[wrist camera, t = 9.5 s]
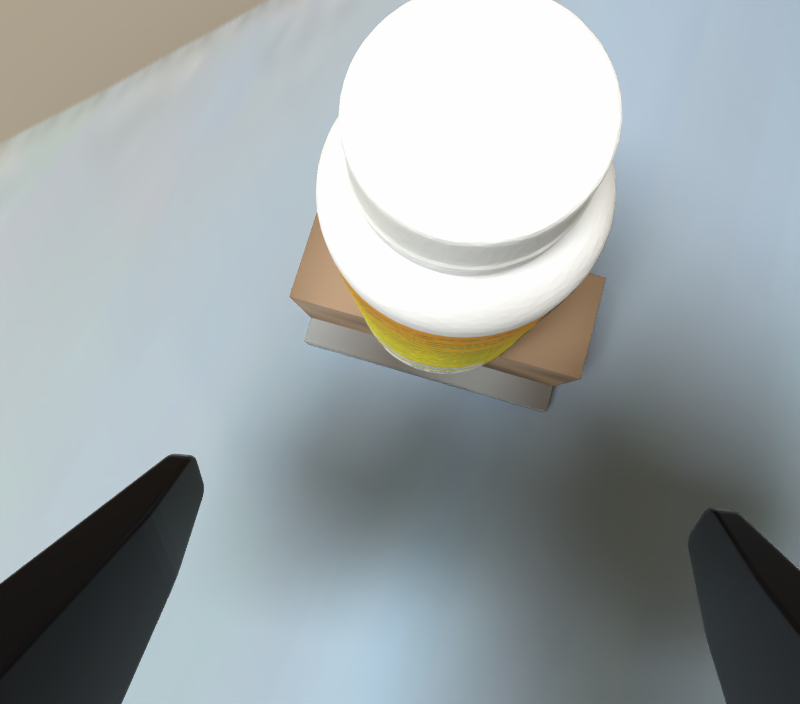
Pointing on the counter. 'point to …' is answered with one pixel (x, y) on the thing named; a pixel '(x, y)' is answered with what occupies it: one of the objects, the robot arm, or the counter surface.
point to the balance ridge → (501, 378)
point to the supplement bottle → (469, 174)
